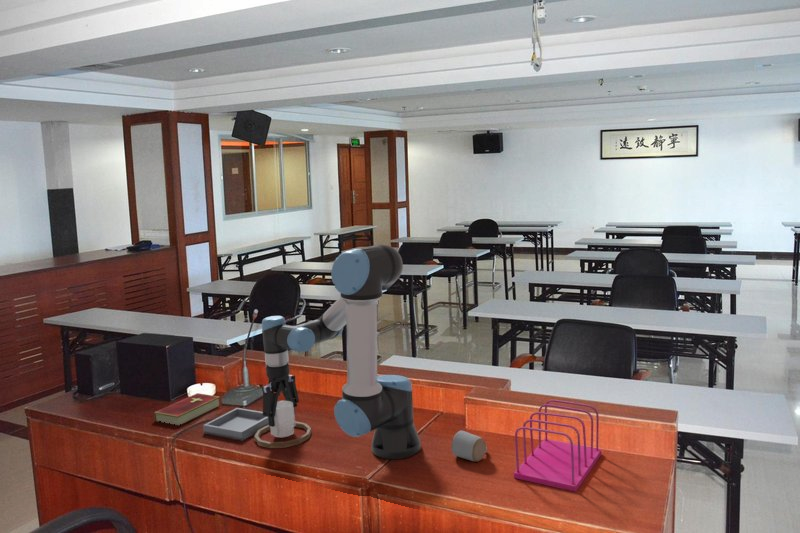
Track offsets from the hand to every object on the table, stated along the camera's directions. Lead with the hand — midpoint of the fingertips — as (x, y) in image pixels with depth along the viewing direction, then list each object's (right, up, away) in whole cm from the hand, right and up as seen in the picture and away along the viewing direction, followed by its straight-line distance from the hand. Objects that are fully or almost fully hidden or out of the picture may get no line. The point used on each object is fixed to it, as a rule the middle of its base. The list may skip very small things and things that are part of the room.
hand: (283, 430), depth 218 cm
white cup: (0, -1, 0) cm, 1 cm away
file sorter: (+84, -3, -31) cm, 89 cm away
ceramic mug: (+60, -3, -22) cm, 64 cm away
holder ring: (0, -2, +1) cm, 2 cm away
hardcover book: (-40, -1, +27) cm, 48 cm away
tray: (-17, -2, +10) cm, 20 cm away
